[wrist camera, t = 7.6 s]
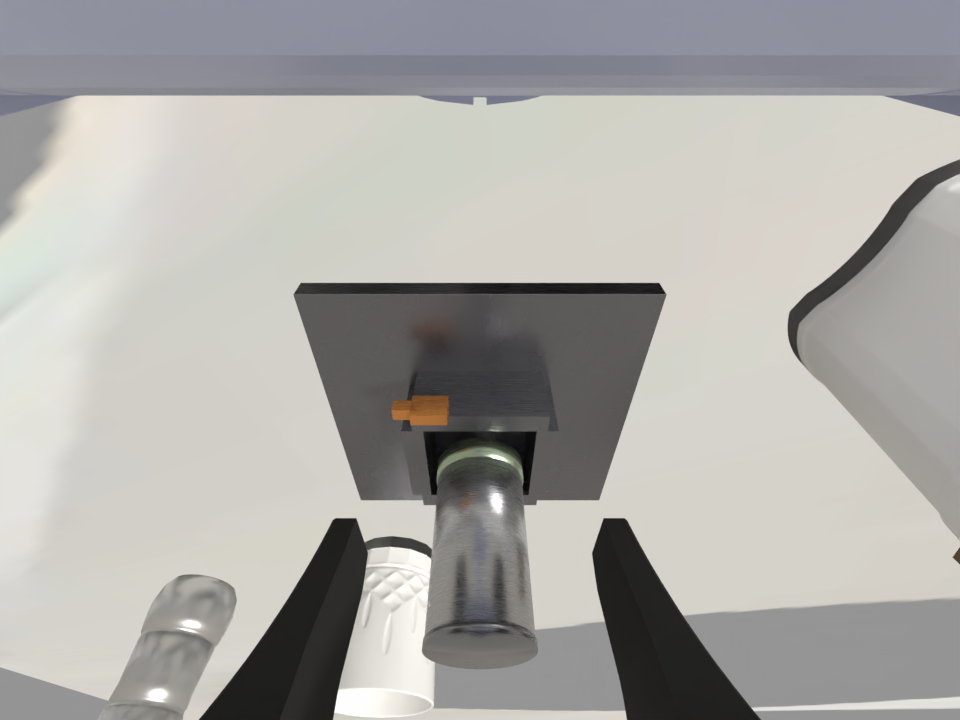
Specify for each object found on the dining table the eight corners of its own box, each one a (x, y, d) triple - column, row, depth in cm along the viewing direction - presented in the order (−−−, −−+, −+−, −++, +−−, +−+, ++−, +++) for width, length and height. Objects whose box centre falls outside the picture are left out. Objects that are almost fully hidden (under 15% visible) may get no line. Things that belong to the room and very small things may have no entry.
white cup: (369, 578, 39) (342, 720, 31) (333, 536, 34) (290, 692, 26) (453, 570, 38) (447, 715, 30) (429, 526, 33) (413, 686, 25)
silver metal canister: (435, 436, 20) (415, 631, 14) (524, 436, 20) (544, 631, 14) (440, 487, 22) (426, 669, 16) (519, 487, 22) (533, 669, 16)
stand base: (300, 282, 19) (261, 344, 15) (659, 282, 19) (698, 344, 15) (364, 487, 29) (348, 551, 26) (595, 487, 29) (611, 551, 26)
